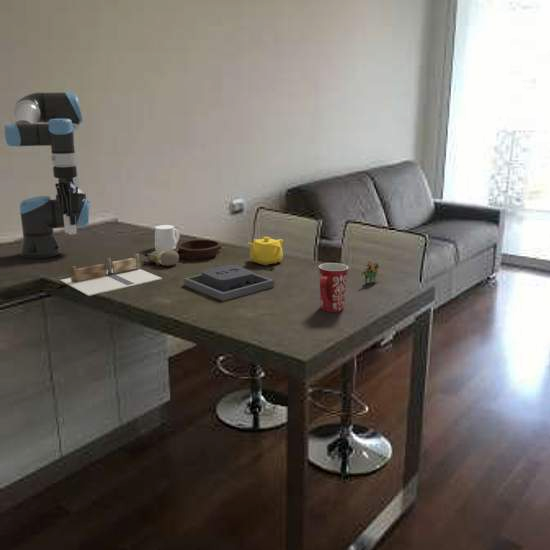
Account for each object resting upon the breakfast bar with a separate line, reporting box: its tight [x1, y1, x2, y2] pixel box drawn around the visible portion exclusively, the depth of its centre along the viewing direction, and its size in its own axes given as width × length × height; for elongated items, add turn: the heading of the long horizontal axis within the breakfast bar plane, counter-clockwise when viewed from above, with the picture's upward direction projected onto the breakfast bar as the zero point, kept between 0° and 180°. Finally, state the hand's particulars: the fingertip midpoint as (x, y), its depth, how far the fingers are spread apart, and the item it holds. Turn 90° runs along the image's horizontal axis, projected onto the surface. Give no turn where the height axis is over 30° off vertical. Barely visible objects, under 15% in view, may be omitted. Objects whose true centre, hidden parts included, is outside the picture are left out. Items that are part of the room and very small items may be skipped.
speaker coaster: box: [183, 272, 275, 302], centre depth 209 cm, size 22×22×2 cm
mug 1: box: [154, 224, 180, 251], centre depth 258 cm, size 12×9×8 cm
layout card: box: [60, 268, 163, 297], centre depth 215 cm, size 22×28×1 cm
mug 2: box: [318, 262, 349, 313], centre depth 185 cm, size 13×9×14 cm
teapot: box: [247, 236, 284, 266], centre depth 236 cm, size 14×13×10 cm
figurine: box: [360, 261, 380, 285], centre depth 212 cm, size 3×12×8 cm, turn 141°
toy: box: [144, 249, 180, 267], centre depth 236 cm, size 10×6×15 cm
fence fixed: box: [106, 253, 141, 275], centre depth 223 cm, size 13×2×6 cm, turn 132°
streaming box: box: [201, 264, 254, 292], centre depth 209 cm, size 14×14×5 cm
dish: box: [176, 239, 222, 260], centre depth 247 cm, size 18×22×5 cm
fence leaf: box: [69, 263, 108, 282], centre depth 214 cm, size 13×2×5 cm, turn 132°
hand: (70, 233), depth 213 cm, fingers open, 2 cm apart
